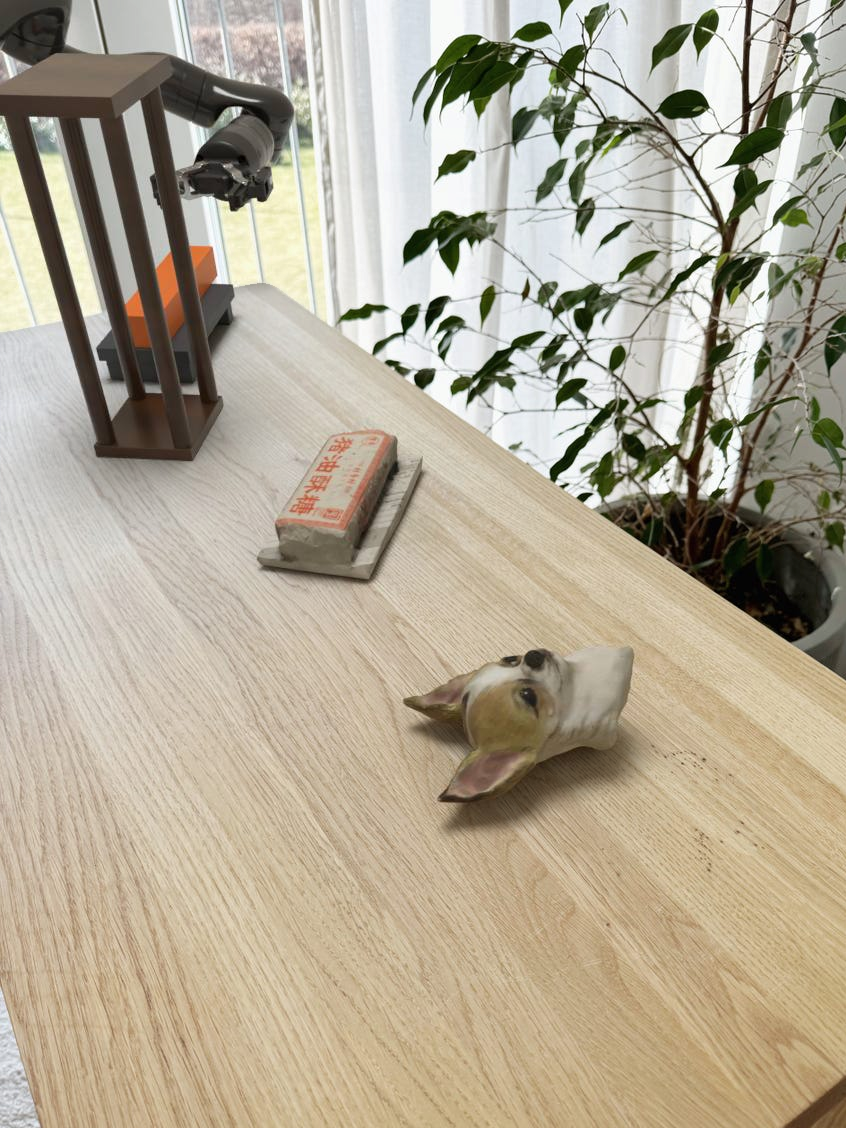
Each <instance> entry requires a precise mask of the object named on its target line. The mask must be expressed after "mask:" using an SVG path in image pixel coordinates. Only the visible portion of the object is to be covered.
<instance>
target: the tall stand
mask: <svg viewBox="0 0 846 1128" xmlns="http://www.w3.org/2000/svg"><path fill="white" fill-rule="evenodd" d="M125 54H126V53H121V54H119V53H117V54H116V53H92V54H74V53H55V54H53V55H52V56H50V57H48V58H46V59H45V60H43V61H41V62H39V63H37V64H36V65H34V66H30V67H29V68H27V69H25V70H23V71H21V72H20V73H18V74H16V75H14V76H11V78H9V79H7V80H5V81H4V82H2V83H0V117H4V122H5V125H6V130H7V132H8V135H9V139H10V143H11V147H12V150H13V153H14V156H15V160H16V164H17V167H18V171H19V174H20V177H21V181H22V185H23V188H24V192H25V195H26V198H27V202H28V206H29V210H30V212H31V216H32V220H33V223H34V226H35V230H36V233H37V237H38V240H39V244H40V247H41V251H42V254H43V258H44V261H45V266H46V269H47V272H48V275H49V278H50V279H49V280H50V282H51V286H52V289H53V293H54V297H55V300H56V303H57V307H58V310H59V314H60V318H61V320H62V325H63V327H64V328H63V329H64V331H65V335H66V338H67V342H68V346H69V349H70V352H71V356H72V359H73V363H74V366H75V370H76V373H77V377H78V381H79V384H80V388H81V391H82V394H83V397H84V401H85V404H86V408H87V412H88V415H89V418H90V422H91V426H92V429H93V432H94V436H95V439H96V441H95V443H94V444H93V449H94V453H95V457H104V458H105V457H106V458H128V459H148V460H149V459H150V460H172V461H174V460H175V461H193V460H195V457H196V455H197V454H198V452H199V450H200V449H201V446H202V445H203V443H204V441H205V439H206V437H207V436H208V434H209V432H210V430H211V428H212V427H213V425H214V423H215V421H216V420H217V418H218V416H219V414H220V412H221V411H222V409H223V407H224V400H223V395H219V393H218V387H217V383H216V378H215V372H214V366H213V362H212V357H211V352H210V351H211V350H210V346H209V340H208V338H207V335H206V329H205V324H204V319H203V313H202V308H201V303H200V298H199V292H198V287H197V282H196V276H195V271H194V266H193V260H192V255H191V250H190V246H191V245H190V240H189V234H188V229H187V225H186V218H185V214H184V213H185V212H184V208H183V203H182V198H181V197H180V192H179V184H178V181H177V176H176V171H177V170H176V167H175V166H176V165H175V161H174V155H173V150H172V149H173V148H172V144H171V139H170V134H169V129H168V128H169V127H168V124H167V118H166V113H165V112H166V111H165V110H164V107H163V102H162V96H161V91H160V86H159V85H160V84H161V83H163V82H164V81H165V80H166V79H168V78H169V77H170V76H172V75H173V74H172V69H171V63H170V57H169V55H125ZM139 101H140V106H141V111H142V116H143V121H144V122H143V123H144V126H145V131H146V132H145V133H146V136H147V141H148V146H149V150H150V151H149V152H150V156H151V160H152V161H151V162H152V165H153V170H154V171H153V172H154V173H155V176H156V181H157V186H158V191H159V196H160V201H161V206H162V216H163V220H164V225H165V229H166V235H167V239H168V246H169V250H170V251H171V255H172V260H173V265H174V270H175V275H176V280H177V285H178V290H179V295H180V300H181V305H182V310H183V315H184V320H185V325H186V330H187V335H188V340H189V344H190V349H191V354H192V359H193V364H194V369H195V374H196V379H195V380H196V384H197V388H198V394H190V393H183V390H182V385H181V382H180V381H179V376H178V371H177V367H176V362H175V357H174V353H173V348H172V343H171V339H170V334H169V329H168V325H167V320H166V315H165V311H164V306H163V301H162V297H161V292H160V287H159V283H158V278H157V273H156V265H155V260H154V259H155V258H154V255H153V251H152V250H153V249H152V246H151V240H150V237H149V232H148V226H147V223H146V218H145V213H144V209H143V204H142V198H141V195H140V190H139V185H138V180H137V175H136V171H135V166H134V162H133V156H132V153H131V148H130V143H129V139H128V133H127V129H126V124H125V119H124V115H123V114H124V113H125V112H126V111H127V110H129V109H130V108H132V107H133V106H134V105H135V104H136V103H138V102H139ZM30 118H57V119H58V123H59V127H60V131H61V136H62V140H63V143H64V146H65V147H64V148H65V151H66V154H67V159H68V163H69V167H70V170H71V175H72V178H73V182H74V187H75V191H76V194H77V198H78V202H79V206H80V210H81V214H82V218H83V222H84V225H85V231H86V234H87V237H88V241H89V246H90V249H91V253H92V258H93V261H94V266H95V269H96V273H97V278H98V281H99V285H100V289H101V293H102V297H103V300H104V305H105V309H106V312H107V317H108V321H109V324H110V328H111V329H112V333H113V336H114V340H115V344H116V348H117V352H118V356H119V360H120V364H121V368H122V372H123V376H124V380H123V381H124V384H125V386H126V387H125V388H126V391H127V395H128V397H127V398H126V400H125V401H124V403H123V404H122V406H120V408H119V410H118V411H117V412H116V414H114V417H113V418H112V417H111V413H110V411H109V407H108V403H107V400H106V396H105V392H104V388H103V384H102V381H101V377H100V374H99V369H98V366H97V363H96V359H95V355H94V351H93V348H92V344H91V340H90V336H89V333H88V329H87V325H86V322H85V317H84V315H83V311H82V307H81V304H80V300H79V296H78V293H77V289H76V286H75V282H74V278H73V274H72V271H71V266H70V263H69V259H68V256H67V252H66V248H65V244H64V240H63V237H62V233H61V230H60V226H59V222H58V218H57V216H56V212H55V208H54V203H53V200H52V196H51V193H50V189H49V186H48V185H49V184H48V181H47V178H46V174H45V170H44V166H43V163H42V160H41V156H40V152H39V148H38V144H37V141H36V137H35V133H34V130H33V126H32V123H31V120H30ZM81 119H98V120H99V126H100V130H101V135H102V139H103V142H104V146H105V151H106V156H107V160H108V165H109V169H110V173H111V177H112V182H113V187H114V190H115V196H116V199H117V204H118V208H119V212H120V218H121V221H122V222H121V223H122V226H123V230H124V235H125V238H126V244H127V247H128V252H129V256H130V261H131V266H132V270H133V274H134V277H135V282H136V286H137V290H138V291H139V296H140V300H141V304H142V309H143V313H144V318H145V322H146V326H147V331H148V335H149V339H150V344H151V348H152V352H153V357H154V361H155V366H156V370H157V374H158V379H159V381H158V383H159V387H160V392H147V390H146V385H145V382H144V381H143V377H142V373H141V369H140V364H139V360H138V356H137V352H136V348H135V344H134V339H133V335H132V331H131V327H130V323H129V319H128V314H127V310H126V306H125V304H126V302H125V298H124V294H123V291H122V286H121V282H120V277H119V273H118V269H117V264H116V261H115V256H114V253H113V252H114V251H113V249H112V244H111V241H110V236H109V232H108V227H107V224H106V219H105V214H104V211H103V207H102V203H101V199H100V193H99V190H98V185H97V181H96V177H95V173H94V168H93V166H92V161H91V157H90V153H89V149H88V148H89V147H88V144H87V140H86V135H85V132H84V127H83V124H82V120H81ZM111 329H110V330H111Z"/></svg>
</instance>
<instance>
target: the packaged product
mask: <svg viewBox="0 0 846 1128" xmlns="http://www.w3.org/2000/svg"><path fill="white" fill-rule="evenodd" d="M398 442H399V440H398V438H397V435H394V434H392V433H387V432H386V431H384V430H382V429H378V428H377V429H376V428H368V429H365V430H357V431H356V430H355V431H351V432H348V431H347V432H341V433H337V434H333V435H332V434H331V435H330V436H329V437H328V438H327V440H326V441H325V443H324V444H323V445H322V447H321V449H320V450H319V452H318V454H317V455H316V457H314V460H313V461H312V463H311V465H310V467H309V468H308V469H307V471H306V472H305V474H304V476H303V477H302V479H301V481H300V482H299V484H298V485H297V487H296V489H295V490H294V492H293V493H292V494H291V496H290V498H289V500H288V501H287V502H286V504H285V505H284V507H283V509H281V512H280V514H279V515H278V517H277V518H276V520H275V522H274V529H273V530H272V532H271V534H270V535H269V537H268V538H267V539H266V541H265V543H264V544H263V546H262V548H261V549H260V551H259V552H258V554H257V556H256V561H257V562H258V564H260V566H261V565H262V566H267V567H275V568H282V569H289V570H297V571H302V572H303V571H304V572H310V573H316V574H324V575H332V576H339V577H346V578H347V577H348V578H353V579H354V578H355V579H363V580H370V578H371V576H372V574H373V571H374V569H375V567H376V565H377V563H378V561H379V559H380V557H381V555H382V553H383V551H384V550H385V548H386V546H387V545H388V543H389V541H390V539H391V538H392V536H393V534H394V532H395V531H396V529H397V528H398V525H399V523H400V521H401V519H402V516H403V514H404V511H405V510H406V507H407V504H408V502H409V500H410V497H411V495H412V492H413V491H414V488H415V485H416V483H417V481H418V478H419V476H420V474H421V471H422V467H423V458H424V455H421V454H414V453H413V454H412V453H409V454H408V453H407V454H405V453H398Z"/></svg>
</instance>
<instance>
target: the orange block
mask: <svg viewBox="0 0 846 1128" xmlns="http://www.w3.org/2000/svg"><path fill="white" fill-rule="evenodd" d="M190 250H191V255H192V260H193V266H194V271H195V276H196V282H197V287H198V292H199V298H200V299H201V298H202V296H203V295H204V293H205V292H206V291H207V289H208V288H209V287H210V285H211V284H213V283H214V281H215V280H216V279H217V277H218V269H217V264H216V259H215V257H216V256H215V252H214V247H213V246H210V245H209V246H208V245H207V246H206V245H204V246H203V245H190ZM155 269H156V273H157V278H158V283H159V287H160V292H161V297H162V301H163V306H164V311H165V315H166V320H167V325H168V329H169V334H170V339H172V338H173V336H174V335H175V334H176V332H177V331H178V329H179V328H180V327H181V325H182V324H183V323H184V321H185V320H184V315H183V310H182V305H181V300H180V295H179V290H178V285H177V280H176V275H175V270H174V265H173V260H172V255H171V250H170V251H169V252H168V254H167V255H166V256H165V257H164V258H163V259H162V261H161V262H160V263H159V264H158V265H157V266H156V267H155ZM125 306H126V310H127V314H128V319H129V323H130V327H131V331H132V335H133V339H134V344H135V347H140V348H151V344H150V339H149V335H148V331H147V326H146V322H145V318H144V313H143V309H142V304H141V300H140V296H139V291H138V289H137V290H136V291H135V292H134V294H132V296H131V297H130V298H129V299H128V300H127V302H125Z"/></svg>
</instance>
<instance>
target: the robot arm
mask: <svg viewBox="0 0 846 1128" xmlns="http://www.w3.org/2000/svg"><path fill="white" fill-rule="evenodd" d="M73 1H74V0H0V51H1V52H2V53H4V54H5V55H7V56H8V57H10V58H11V59H14V60H16V61H17V62H20V63H22V64H24V65H27V66H30V67H32V66H34V65H36V64H37V63H39V62H41V61H43V60H45V59H46V58H48V57H50V56H52V55H53V54H55V53H74V54H93V52H87V51H84V50H81V49H78V48H76V47H73V46H71V45H70V44H67V38H68V34H69V29H70V24H71V19H72V15H73ZM124 54H125V55H169V57H170V63H171V69H172V74H173V75H172V76H170V77H169V78H168V79H166V80H165V81H164V82H163V83H161V84H160V85H159V86H160V91H161V96H162V102H163V107H164V112H167V113H169V114H171V115H174V116H176V117H178V118H180V119H183V120H185V121H187V122H189V123H192V124H194V125H195V126H198V127H200V128H203V129H206V130H212V129H214V128H215V127H216V125H217V124H218V123H219V121H220V119H221V117H222V116H223V115H224V113H225V112H226V111H227V110H228V109H230V108H241V110H240V112H239V115H237V116H236V117H234V118H232V119H231V120H230V121H228V123H226V124H225V126H223V127H221V128H220V129H218V130H217V131H215V132H214V133H213V135H211V136H210V138H208V140H206V141H205V142H204V144H202V145H201V146H200V148H199V149H198V150H197V152H196V155H195V158H194V161H193V164H192V165H190V166H186V167H182V168H179V169H177V170H176V176H177V181H178V186H179V192H180V197H181V199H183V200H186V201H193V200H196V199H199V198H202V197H205V198H211V197H212V198H214V199H215V200H218V201H222V202H228V205H229V210H230V212H232V213H234V212H235V213H236V212H238V211H239V210H240V209H241V208H244V207H245V205H246V204H250V203H252V200H253V199H256V202H259V203H265V202H267V201H268V199H269V198H270V195H271V194H272V192H273V190H274V180H273V172H272V171H273V170H272V168H273V167H275V166H276V164H277V163H278V161H279V159H280V157H281V154H282V153H283V149H284V147H285V143H286V140H287V138H288V135H289V132H290V131H291V127H292V124H293V122H294V119H295V114H296V113H295V107H294V105H293V103H292V101H291V100H290V98H289V97H288V96H287V95H286V94H285V93H284V92H282V91H281V90H279V89H277V88H276V87H273V86H270V85H265V84H259V83H252V82H246V81H241V80H236V79H232V78H228V77H223V76H220V75H217V74H214V73H212V72H210V71H209V70H208V71H207V70H206V69H204V68H202V67H200V66H197V65H196V64H193V63H191V62H189V61H187V60H186V59H183V58H181V57H178V56H176V55H173V54H171V53H166V52H161V51H139V52H137V51H136V52H129V53H124ZM149 182H150V185H151V190H152V197H153V199H155V200H156V204H157V206H159V209H160V210H162V206H161V201H160V196H159V191H158V186H157V181H156V176H155V172H153V174H151V175H150V176H149ZM191 189H193V191H192V190H191Z"/></svg>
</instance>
